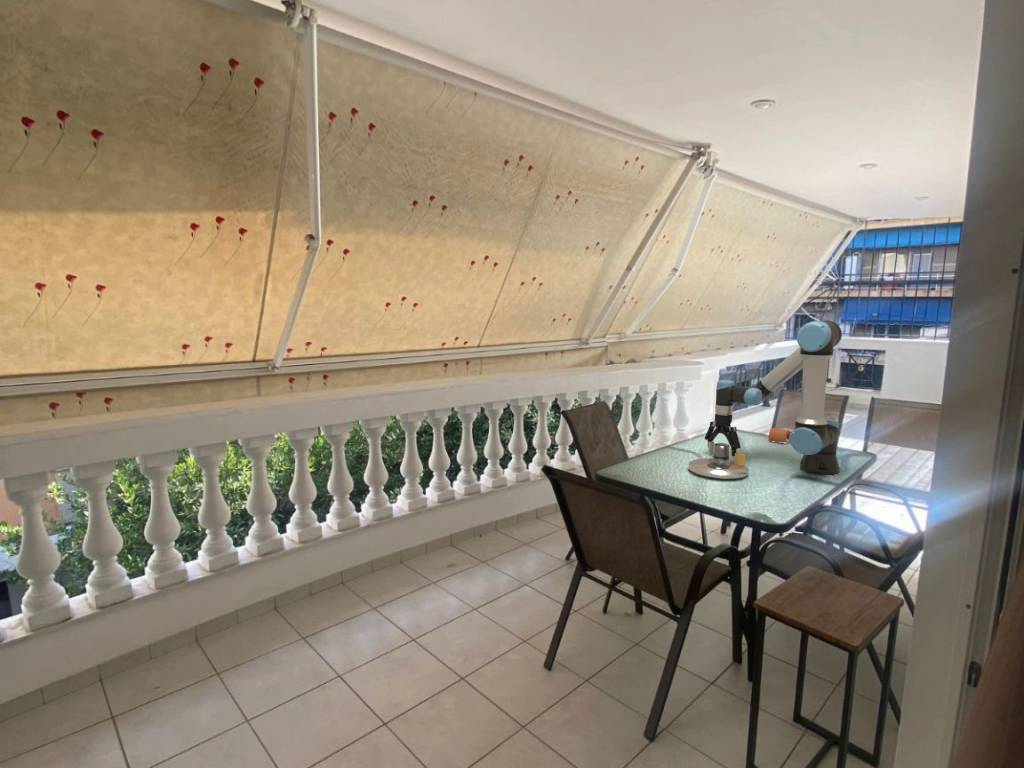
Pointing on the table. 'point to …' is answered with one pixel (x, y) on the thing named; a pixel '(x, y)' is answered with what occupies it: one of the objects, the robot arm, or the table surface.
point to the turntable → (720, 467)
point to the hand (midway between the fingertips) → (721, 458)
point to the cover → (721, 451)
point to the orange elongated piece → (779, 435)
